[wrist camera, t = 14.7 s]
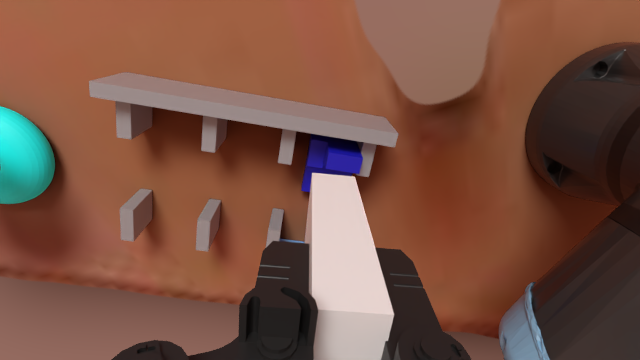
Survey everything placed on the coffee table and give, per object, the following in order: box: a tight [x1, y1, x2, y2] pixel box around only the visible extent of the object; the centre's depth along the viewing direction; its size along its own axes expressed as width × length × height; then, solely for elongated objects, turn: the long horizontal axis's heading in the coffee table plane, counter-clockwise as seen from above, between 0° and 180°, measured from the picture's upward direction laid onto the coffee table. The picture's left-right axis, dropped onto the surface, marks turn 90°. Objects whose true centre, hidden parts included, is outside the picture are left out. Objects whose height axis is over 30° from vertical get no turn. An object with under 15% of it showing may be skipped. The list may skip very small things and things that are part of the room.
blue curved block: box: [302, 134, 363, 192], centre depth 36 cm, size 12×4×6 cm, turn 170°
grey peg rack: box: [89, 72, 398, 251], centre depth 35 cm, size 25×16×6 cm, turn 80°
